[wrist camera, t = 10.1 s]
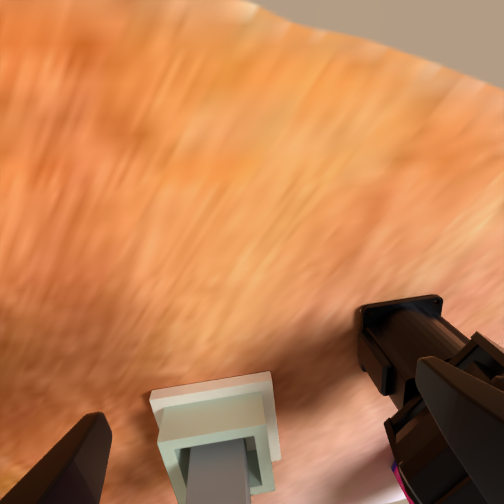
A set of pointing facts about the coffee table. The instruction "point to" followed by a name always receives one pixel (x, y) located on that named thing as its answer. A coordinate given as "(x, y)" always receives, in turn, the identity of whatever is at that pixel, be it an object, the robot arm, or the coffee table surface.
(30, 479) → the robot arm
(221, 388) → the socket block
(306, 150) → the coffee table surface
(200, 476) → the peg
